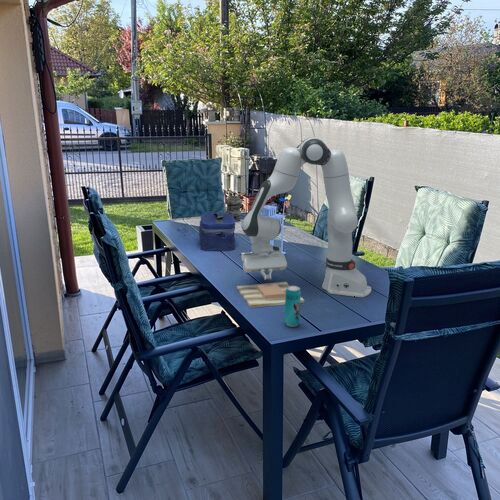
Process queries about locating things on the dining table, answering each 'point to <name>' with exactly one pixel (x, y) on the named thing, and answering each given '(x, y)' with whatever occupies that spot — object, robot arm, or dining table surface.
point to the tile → (270, 292)
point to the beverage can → (292, 306)
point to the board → (257, 300)
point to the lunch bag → (217, 232)
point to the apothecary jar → (233, 207)
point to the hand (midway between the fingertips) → (268, 279)
